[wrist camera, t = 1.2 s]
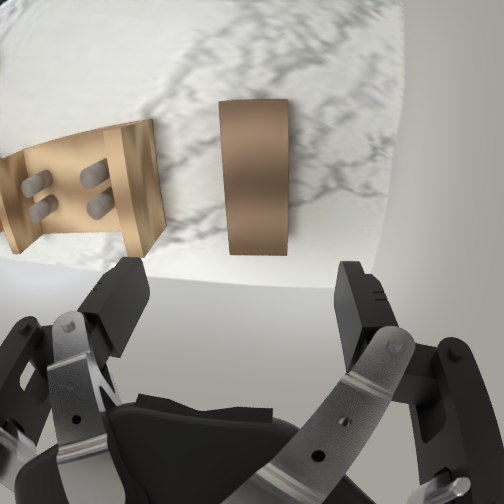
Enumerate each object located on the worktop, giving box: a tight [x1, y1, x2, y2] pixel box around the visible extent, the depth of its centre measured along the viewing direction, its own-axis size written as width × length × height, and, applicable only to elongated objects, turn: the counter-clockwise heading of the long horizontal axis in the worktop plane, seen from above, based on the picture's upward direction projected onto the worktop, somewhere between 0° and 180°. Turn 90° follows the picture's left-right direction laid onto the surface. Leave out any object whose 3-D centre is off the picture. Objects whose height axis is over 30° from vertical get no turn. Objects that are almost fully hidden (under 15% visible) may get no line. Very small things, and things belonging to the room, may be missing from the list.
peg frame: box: [0, 119, 166, 258], centre depth 24 cm, size 11×19×6 cm, turn 92°
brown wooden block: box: [219, 99, 289, 256], centre depth 24 cm, size 13×5×4 cm, turn 2°
